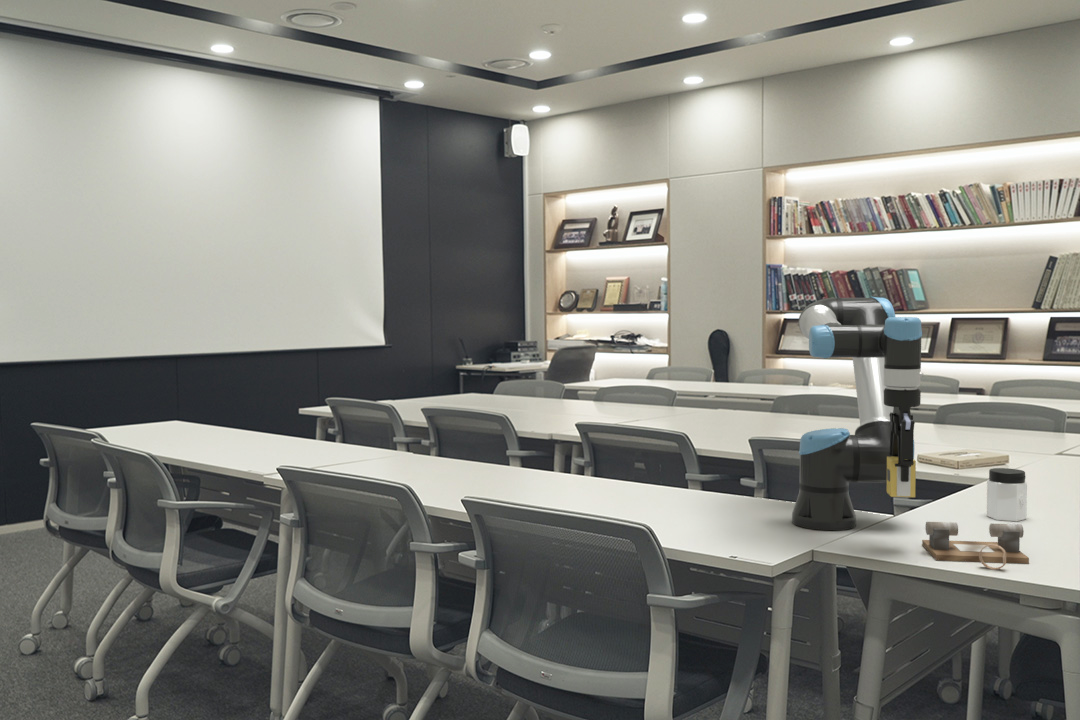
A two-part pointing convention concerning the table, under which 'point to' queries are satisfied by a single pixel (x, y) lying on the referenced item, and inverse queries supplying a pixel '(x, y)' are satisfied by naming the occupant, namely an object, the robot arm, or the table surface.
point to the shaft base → (974, 544)
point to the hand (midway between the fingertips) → (900, 492)
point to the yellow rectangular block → (893, 477)
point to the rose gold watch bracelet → (986, 564)
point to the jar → (1007, 494)
